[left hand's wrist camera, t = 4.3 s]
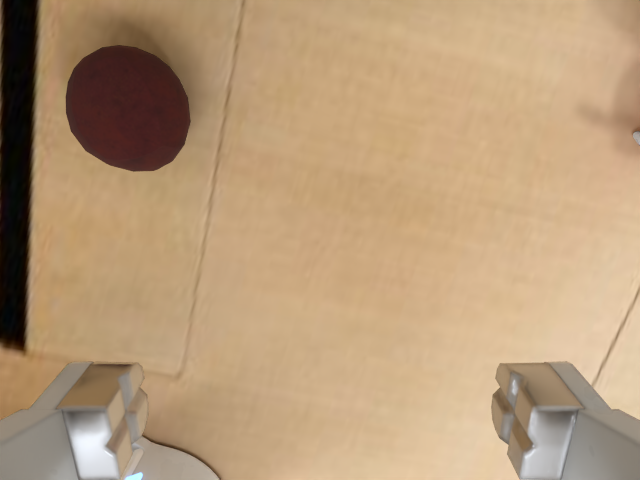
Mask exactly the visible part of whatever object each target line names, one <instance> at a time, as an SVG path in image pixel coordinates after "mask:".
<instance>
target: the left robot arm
mask: <svg viewBox="0 0 640 480" xmlns="http://www.w3.org/2000/svg"><path fill="white" fill-rule="evenodd" d="M144 379H145V378H144V373H143V368H142V366H141V365H140V364H139V363H128V362H72V363H69V364H67V366H66V367H65V368H64V369H63V370H62V371H61V372H60V374H59V375H58V376H57V377H56V378H55V379H54V380H53V382H52V383H51V384H50V385H49V386H48V387H47V389H46V390H45V391H44V392H43V393H42V394H41V395H40V397H39V398H38V399H37V400H36V401H35V402H34V404H33V405H32V406H31V407H30V408H29V409H23V410H19V411H17V412H15V413H13V414H11V415H10V416H8V417H6V418H4V419H2V420H0V480H220V479H219V478H218V476H217V475H216V474H215V473H214V472H213V471H212V470H211V469H210V468H209V467H208V466H207V465H205V464H204V463H203V462H201V461H200V460H198V459H197V458H195V457H193V456H191V455H189V454H187V453H185V452H182V451H180V450H177V449H173V448H170V447H166V446H162V445H158V444H155V443H153V442H150V441H149V440H147V439H146V438H144V437H143V436H142V434H143V432H144V430H145V427H146V423H147V418H148V397H147V394H146V393H145V392H144V391H143V390H142V389H141V388H140V386H141V384H142V382H143V380H144ZM495 379H496V380H497V382H498V384H499V386H500V388H499V389H498V390H497V391H496V392H495V393H494V394H493V398H492V406H491V409H492V420H493V423H494V427H495V430H496V432H497V434H498V436H499V438H500V439H501V440H503V441H504V442H506V443H507V444H508V445H509V446H508V452H507V455H508V457H509V459H510V461H511V463H512V465H513V467H514V469H515V471H516V473H517V475H518V477H519V479H520V480H640V420H638V419H636V418H634V417H632V416H630V415H629V414H627V413H625V412H623V411H621V410H617V409H611V408H610V407H609V406H608V405H607V404H606V402H605V401H604V400H603V399H602V398H601V397H600V395H599V394H598V393H597V392H596V391H595V390H594V389H593V387H592V386H591V385H590V384H589V383H588V382H587V381H586V379H585V378H584V377H583V376H582V375H581V374H580V372H579V371H578V370H577V369H576V368H575V367H574V366H573V364H571V363H569V362H567V361H565V362H544V363H500V364H499V366H498V368H497V373H496V378H495Z"/></svg>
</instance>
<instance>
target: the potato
mask: <svg viewBox="0 0 640 480" xmlns="http://www.w3.org/2000/svg"><path fill="white" fill-rule="evenodd" d="M66 114H67V118H68V122H69V125H70V129H71V132H72V133H73V134H74V136H75V137H76V138H77V140H78V141H79V142H80V144H81V145H82V146H83V148H84V149H85V150H86V151H87V152H89V153H90V154H92V155H93V156H95V157H97V158H98V159H100V160H102V161H103V162H105V163H106V164H109V165H111V166H114V167H118V168H122V169H126V170H130V171H154V170H157V169H159V168H161V167H163V166H164V165H166V164H168V163H170V162H172V161H173V160H174V158H175V157H176V156H177V154H178V153H179V151H180V150H181V149H182V147H183V146H184V144H185V140H186V136H187V133H188V129H189V125H190V113H189V104H188V97H187V95H186V93H185V91H184V88H183V86H182V84H181V82H180V80H179V78H178V77H177V76H176V75H175V73H174V72H173V71H172V69H171V68H170V67H169V66H168V65H167V64H165V63H164V62H163V61H162V60H160V59H159V58H158V57H157V56H155V55H153V54H150V53H148V52H145V51H143V50H141V49H138V48H135V47H128V46H121V45H118V46H110V47H102V48H100V49H99V50H97V51H95V52H93V53H91V54H90V55H88V56H86V57H84V58H83V59H82V60H81V61H80V62H79V64H78V65H77V66H76V67H75V68H74V70H73V72H72V74H71V77H70V79H69V81H68V86H67V93H66Z"/></svg>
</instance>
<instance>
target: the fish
mask: <svg viewBox="0 0 640 480" xmlns="http://www.w3.org/2000/svg"><path fill="white" fill-rule="evenodd" d="M633 137H634V139H635V140H636V142H637V143H638V144H639V145H640V132H638V131H636V132H634V134H633Z"/></svg>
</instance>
